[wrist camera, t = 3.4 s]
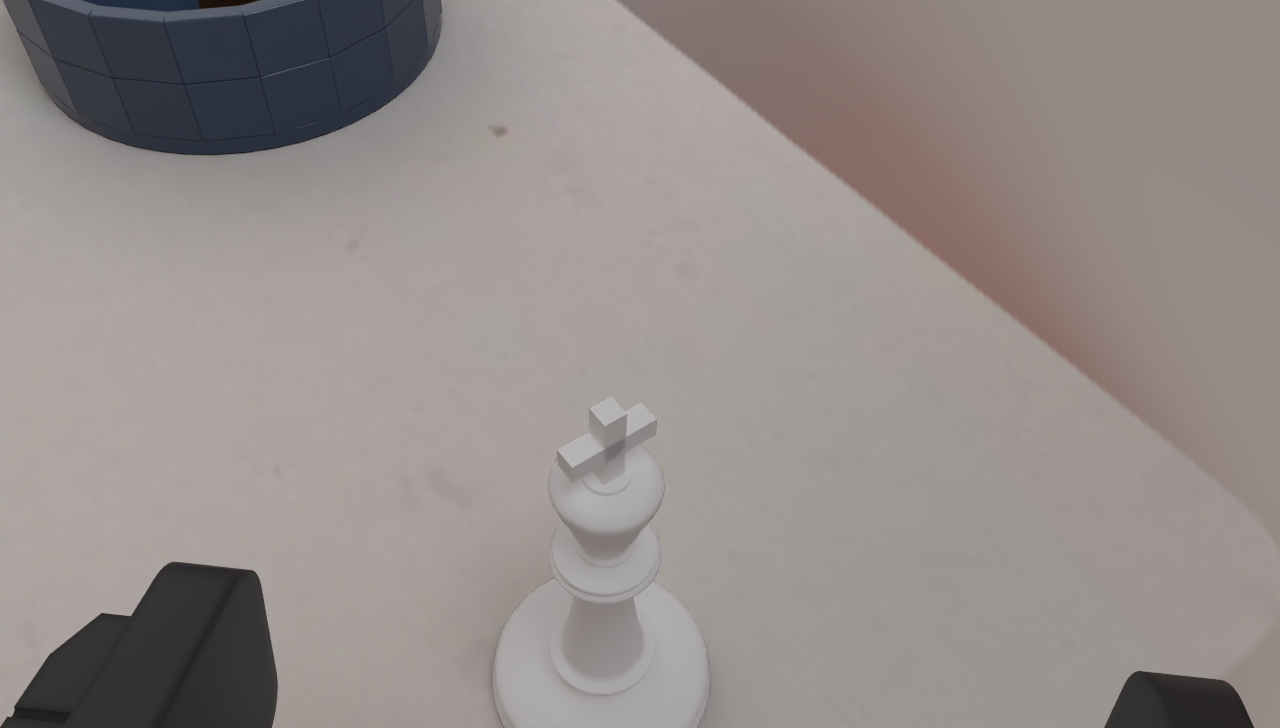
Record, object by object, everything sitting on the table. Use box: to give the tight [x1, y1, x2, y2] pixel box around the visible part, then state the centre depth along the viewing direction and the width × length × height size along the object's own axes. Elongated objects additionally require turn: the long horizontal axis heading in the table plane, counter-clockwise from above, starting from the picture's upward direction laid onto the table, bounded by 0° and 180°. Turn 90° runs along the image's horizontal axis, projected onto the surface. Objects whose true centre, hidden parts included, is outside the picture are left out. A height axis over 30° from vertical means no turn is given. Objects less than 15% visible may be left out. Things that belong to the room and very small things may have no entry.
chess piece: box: [493, 396, 710, 728], centre depth 22 cm, size 5×5×10 cm
